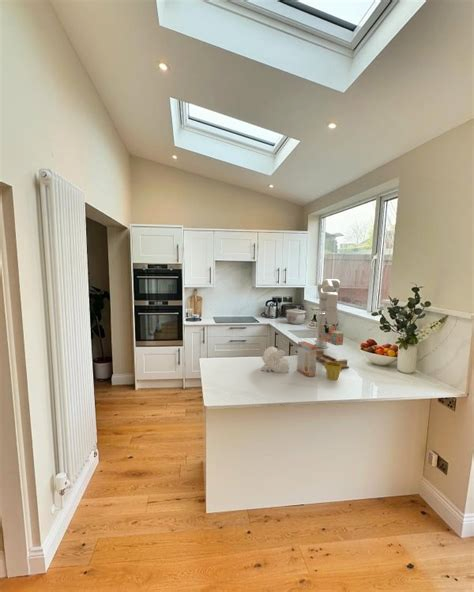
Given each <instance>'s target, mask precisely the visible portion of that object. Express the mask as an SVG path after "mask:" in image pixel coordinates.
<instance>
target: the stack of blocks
mask: <svg viewBox="0 0 474 592" xmlns="http://www.w3.org/2000/svg"><path fill="white" fill-rule="evenodd" d="M328 328H329V330H328V333H325V327H324V326H323V324H319V339H320V340H323V341H325V342H327V344H328V343H329V344H331V345H334V346H343V345H344V344H343V342H344V334H345V333H344V332H343V331H342V332H341V331H339V330H337V327H336V326H333V324H331V325H329V326H328Z"/></svg>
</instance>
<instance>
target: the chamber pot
mask: <svg viewBox="0 0 474 592" xmlns="http://www.w3.org/2000/svg"><path fill="white" fill-rule="evenodd" d="M285 312H286V315H285V316H286V320H287V322H288V323H289V324H291V325H301V324H303V323H304V321H305V319H306V313H307V311H306V310H304V309H299V308H296V307H295V308H293V309H292V308H290V309H286V310H285Z"/></svg>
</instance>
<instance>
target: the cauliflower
mask: <svg viewBox="0 0 474 592" xmlns="http://www.w3.org/2000/svg"><path fill="white" fill-rule="evenodd" d="M285 355H286V352H285V351H284V350H282V349H280V350H279V349H277V348H276V347H275V346H269V347H267V348H265V351H264V352H263V356H261V359H262V361H263V362H264V365H263V366H262V367H261V369H260V371H261V370H264V371H263V372H267V371H268V372H269V371H270V372H272V371H273V372H274V371H275V372H274V373H277V372H279V373H280V374H281V373H282V374H287V373H289V371H290V366H289V365H290V363H289V360H288V359H286V358H285V357H284V356H285ZM266 370H267V371H266ZM271 370H272V371H271Z"/></svg>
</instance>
